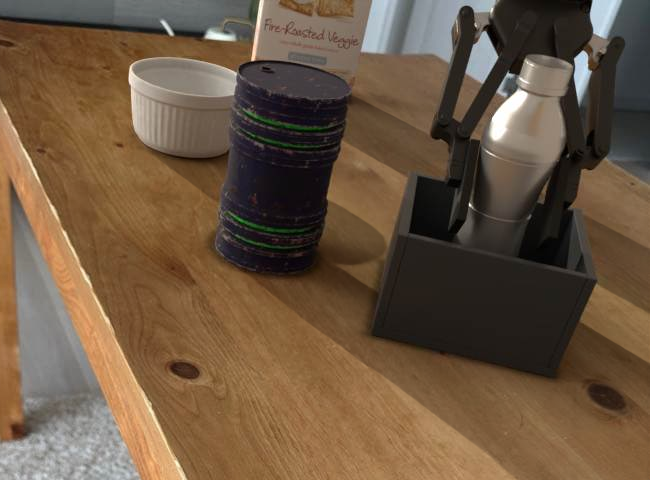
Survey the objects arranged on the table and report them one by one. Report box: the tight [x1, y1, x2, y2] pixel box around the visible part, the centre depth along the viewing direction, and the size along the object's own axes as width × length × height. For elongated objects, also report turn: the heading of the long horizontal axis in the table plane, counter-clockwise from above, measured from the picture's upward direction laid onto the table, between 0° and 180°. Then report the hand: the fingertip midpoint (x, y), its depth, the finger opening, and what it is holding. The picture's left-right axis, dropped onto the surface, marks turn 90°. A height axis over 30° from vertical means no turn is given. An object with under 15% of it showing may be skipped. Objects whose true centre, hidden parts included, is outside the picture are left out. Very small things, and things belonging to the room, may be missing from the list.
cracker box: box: [250, 0, 373, 94], centre depth 114 cm, size 14×6×21 cm, turn 92°
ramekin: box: [128, 56, 237, 159], centre depth 97 cm, size 13×13×7 cm
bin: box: [370, 170, 598, 378], centre depth 75 cm, size 16×15×9 cm
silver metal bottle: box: [452, 54, 574, 258], centre depth 71 cm, size 6×7×20 cm
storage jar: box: [214, 60, 353, 276], centre depth 77 cm, size 10×10×15 cm
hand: (501, 234), depth 70 cm, fingers open, 7 cm apart
